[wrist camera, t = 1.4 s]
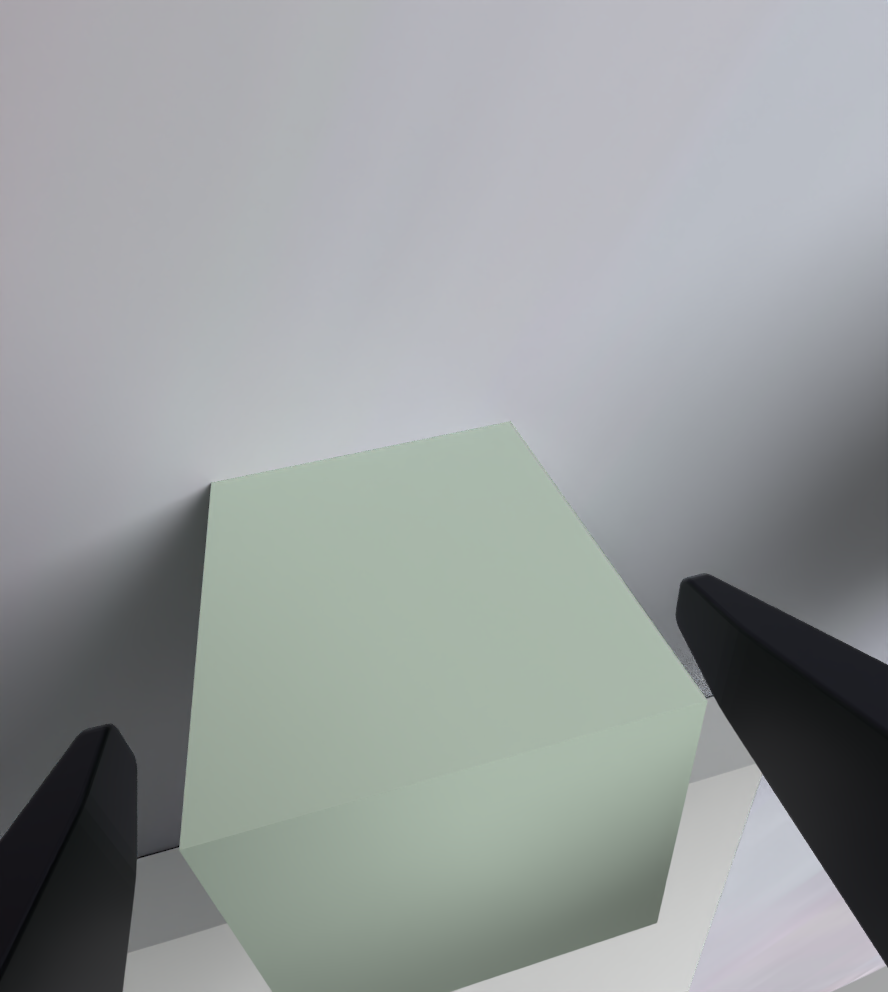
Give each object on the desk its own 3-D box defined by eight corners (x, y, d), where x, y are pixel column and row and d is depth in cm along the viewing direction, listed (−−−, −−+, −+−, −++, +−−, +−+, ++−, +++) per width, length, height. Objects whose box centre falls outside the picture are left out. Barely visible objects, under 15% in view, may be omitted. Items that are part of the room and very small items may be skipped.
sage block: (509, 419, 11) (707, 701, 6) (517, 624, 14) (657, 923, 9) (211, 480, 10) (179, 849, 6) (284, 682, 13) (304, 1040, 9)
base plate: (719, 694, 17) (767, 760, 16) (658, 943, 27) (685, 1000, 25) (90, 872, 15) (72, 970, 13) (264, 1076, 24) (265, 1148, 23)
